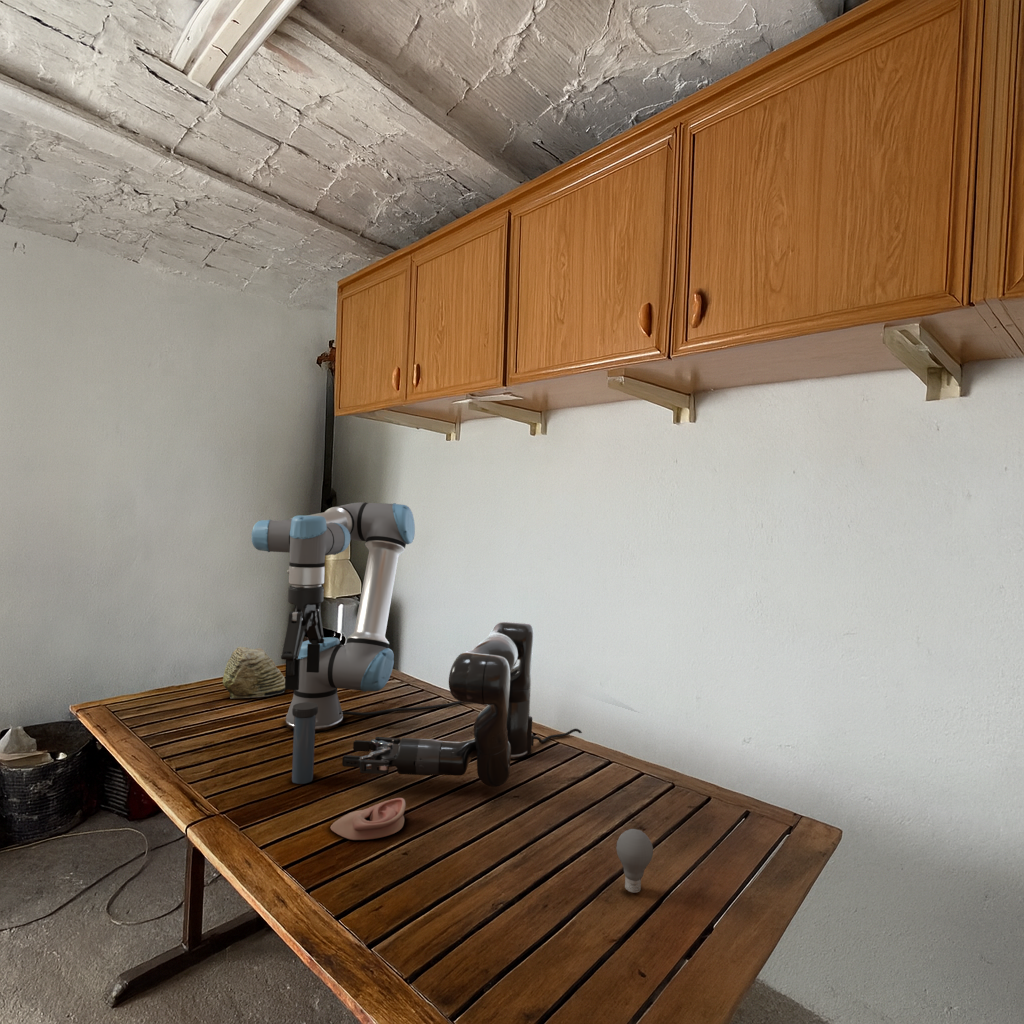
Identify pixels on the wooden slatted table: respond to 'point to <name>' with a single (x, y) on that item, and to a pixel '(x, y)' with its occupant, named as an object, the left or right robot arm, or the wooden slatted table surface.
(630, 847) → the light bulb
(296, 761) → the jar
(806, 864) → the wooden slatted table surface
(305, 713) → the lid
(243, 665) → the fossil
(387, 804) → the anatomical model
